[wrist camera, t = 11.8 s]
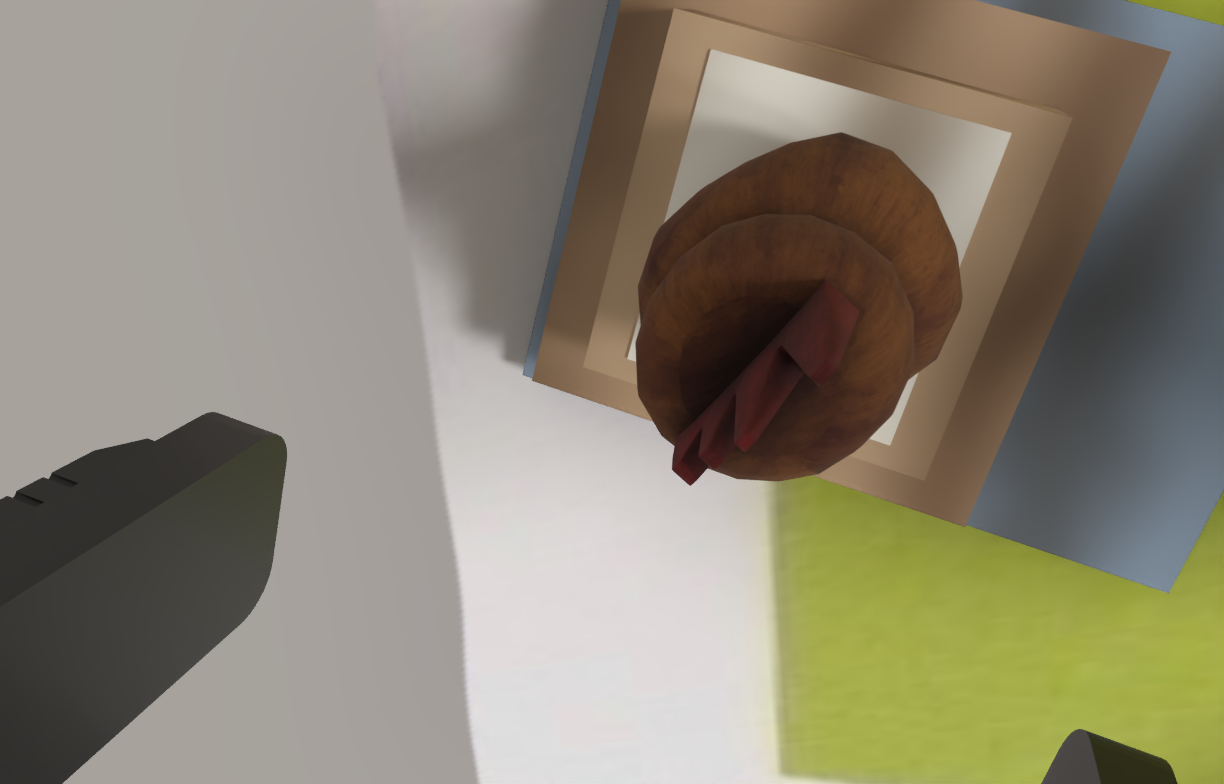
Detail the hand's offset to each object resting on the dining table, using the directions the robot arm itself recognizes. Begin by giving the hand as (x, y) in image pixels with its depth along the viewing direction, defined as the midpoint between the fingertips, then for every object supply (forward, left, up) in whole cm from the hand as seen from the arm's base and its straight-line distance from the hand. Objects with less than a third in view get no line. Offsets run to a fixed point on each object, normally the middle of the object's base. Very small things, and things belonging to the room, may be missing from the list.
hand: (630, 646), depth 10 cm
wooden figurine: (0, 0, -19) cm, 19 cm away
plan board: (-3, 0, -25) cm, 25 cm away
